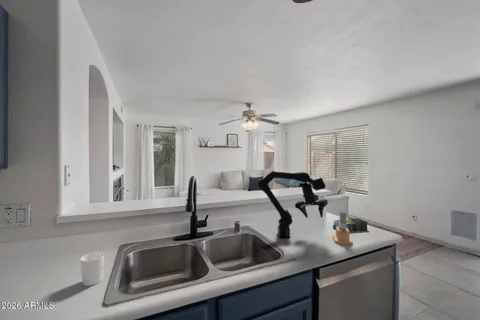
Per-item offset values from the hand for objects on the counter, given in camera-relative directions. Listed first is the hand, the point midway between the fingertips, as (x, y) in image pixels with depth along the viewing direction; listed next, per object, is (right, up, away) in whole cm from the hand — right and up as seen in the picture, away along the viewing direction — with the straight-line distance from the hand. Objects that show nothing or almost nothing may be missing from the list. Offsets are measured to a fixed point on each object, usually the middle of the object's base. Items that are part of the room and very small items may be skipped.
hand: (314, 217), depth 133 cm
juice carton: (+29, -12, +16) cm, 35 cm away
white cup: (-103, -13, -46) cm, 114 cm away
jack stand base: (+15, -12, -5) cm, 20 cm away
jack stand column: (+15, -7, -5) cm, 17 cm away
